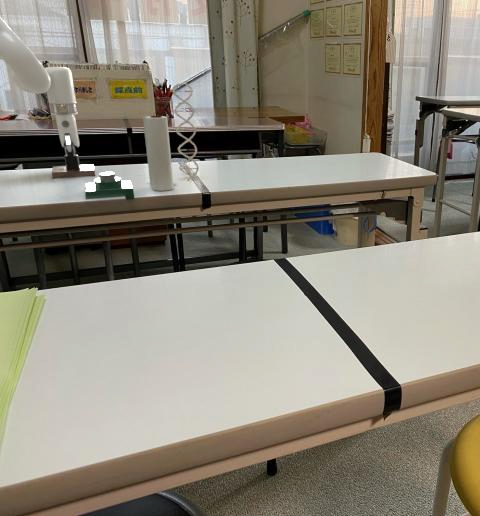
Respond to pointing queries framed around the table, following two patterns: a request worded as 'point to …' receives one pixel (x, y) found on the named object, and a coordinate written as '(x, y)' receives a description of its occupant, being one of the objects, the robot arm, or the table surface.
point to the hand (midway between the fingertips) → (73, 166)
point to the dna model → (183, 130)
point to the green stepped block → (109, 189)
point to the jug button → (107, 176)
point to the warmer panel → (73, 171)
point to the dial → (77, 160)
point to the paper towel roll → (158, 152)
